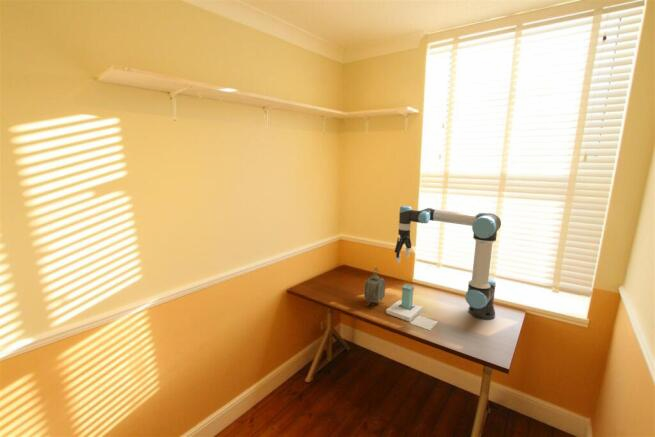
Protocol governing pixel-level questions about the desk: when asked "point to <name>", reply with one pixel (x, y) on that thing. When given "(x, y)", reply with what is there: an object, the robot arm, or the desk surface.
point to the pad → (424, 322)
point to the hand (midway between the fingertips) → (402, 259)
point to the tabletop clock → (374, 288)
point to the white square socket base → (404, 311)
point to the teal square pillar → (407, 296)
